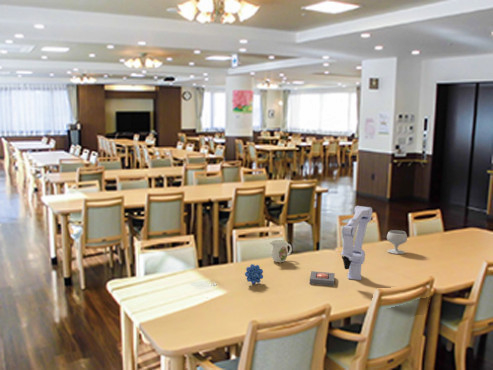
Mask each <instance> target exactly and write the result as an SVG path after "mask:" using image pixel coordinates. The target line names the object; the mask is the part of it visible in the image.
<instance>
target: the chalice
mask: <svg viewBox="0 0 493 370" xmlns="http://www.w3.org/2000/svg"><path fill="white" fill-rule="evenodd" d="M386 239H387V241H388V242H389V243H391V244H392V245H393V246H394V248H390V249H387V250H386V251H387V252H388V253H391V254H394V255H403V254H405V250H401V249H399V246H400V245H403V244H405V243H406V242H407V241H408V235H407V233H406V231H403V230H398V229H394V230H393V229H391V230H389V231H388V232H387V235H386Z"/></svg>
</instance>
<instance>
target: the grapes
mask: <svg viewBox="0 0 493 370" xmlns="http://www.w3.org/2000/svg"><path fill="white" fill-rule="evenodd" d="M245 270H246V271H245V273H244V275H245V277H246V280H247V282H251V284H252V285H256V284H257V283H258V284H259V283H261V280H262V279H263V278H264V274H263V273H264V271H263V268H261V266H260V265H258V264H256V265H255V264H253V263H251V264H250V266H247V267H246V268H245Z"/></svg>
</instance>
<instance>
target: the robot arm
mask: <svg viewBox="0 0 493 370" xmlns="http://www.w3.org/2000/svg"><path fill="white" fill-rule="evenodd" d="M353 211H354V212H353V213H354V215H353V217H351V218H350V219H349V221H348V222H347V223H346V224H345V225H343V226H342V229H341V234H342V250H341V253H340V255H341V259H342V261H343V267H344V269H345V270H348V272H347V280H357V281H359V280H360V281H361V280H362V265H363V264H365V263H364V262H365V261H366V260H365V259H366V252H365V250H364V249H362V248H363V245H364V239H365V235H366V230H367V226H368V223H370V222H371V220H372V216H373V208H372V207H371V206H363V205H361V206H360V205H356V206H354V210H353ZM354 237H355V240H354Z"/></svg>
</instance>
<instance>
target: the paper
mask: <svg viewBox="0 0 493 370" xmlns="http://www.w3.org/2000/svg"><path fill="white" fill-rule="evenodd" d="M209 285H210V286H213V287H216V286H217V283H216V282H213V283H212V284H211V283H209ZM205 297H206V298H211V297H213V296H212V295H205Z"/></svg>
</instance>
